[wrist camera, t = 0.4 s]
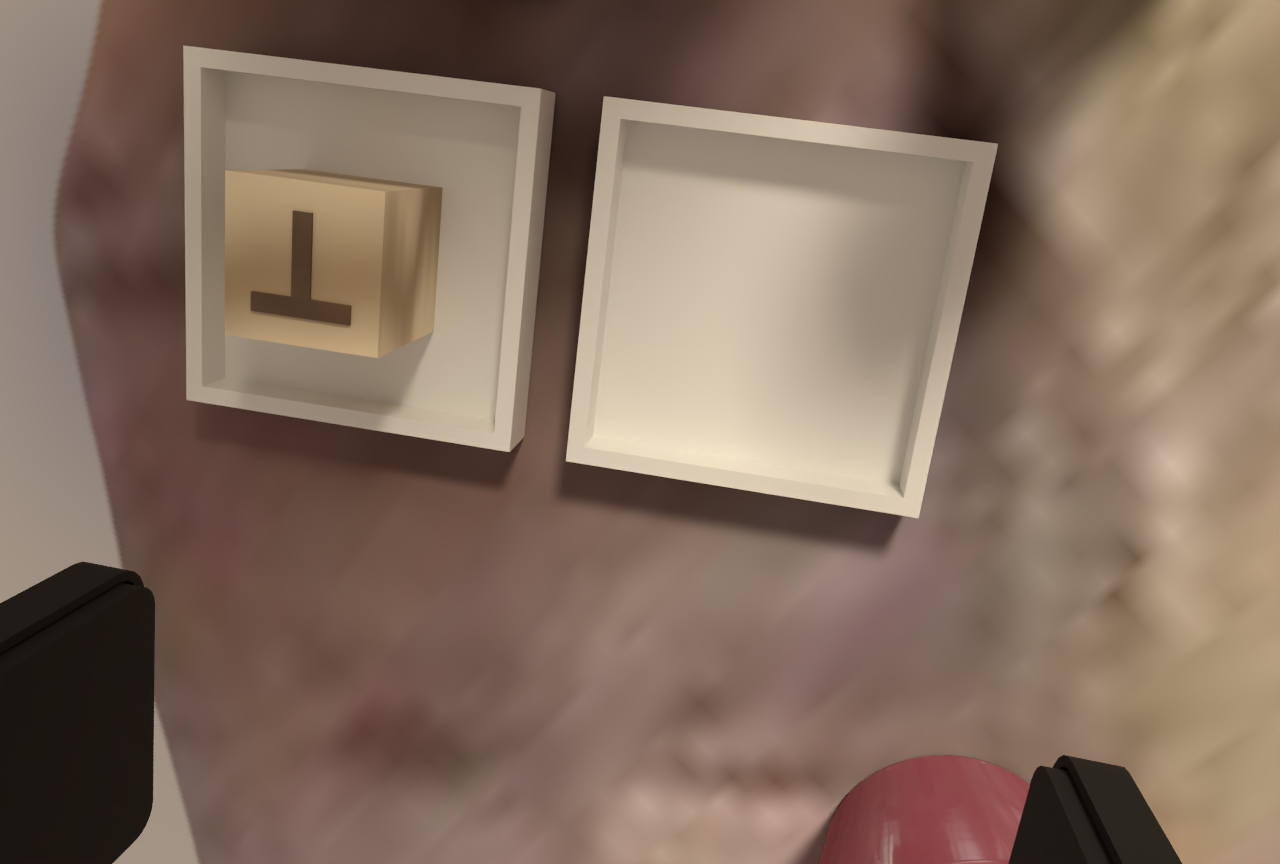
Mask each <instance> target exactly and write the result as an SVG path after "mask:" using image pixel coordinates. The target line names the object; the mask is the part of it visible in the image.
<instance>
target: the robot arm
mask: <svg viewBox="0 0 1280 864" xmlns="http://www.w3.org/2000/svg"><path fill="white" fill-rule="evenodd" d="M154 640H155V601H154V596H153V594H152V591H150V590H149V589H148V588H145V587H144V585H143V582H142V580H141V577H140V576H139V575H138V574H137V573H135V572H133V571H128V570H123V569H118V568H113V567H107V566H103V565H98V564H93V563H87V562H80V563H77V564H74V565H72V566H70V567H68V568H67V569H64V570H63V571H61V572H59V573H57V574H55V575H53V576H51V577H49V578H47V579H45V580H44V581H42V582H40V583H38V584H36V585H34V586H32V587H30V588H29V589H27V590H25V591H23V592H21V593H19V594H17V595H16V596H13V597H12V598H10V599H8V600H6V601H4V602H2V603H0V864H112V863H113V862H114V861H115V860H116V859H117V858H118V857H119V856H120V855H121V854H122V853H123V852H124V851H125V850H126V849H127V848H128V847H129V846H130V845H131V844H132V843H133V842H134V841H135V840H136V839H137V838H138V837H139V835H140V834H141V833H142V831H143V829H144V828H145V826H146V823H147V821H148V819H149V816H150V813H151V810H152V803H153V739H154V738H153V737H154ZM1008 864H1182V863H1181V861H1180V859H1179V857H1178V856H1177V854H1176V852H1175V851H1174V849H1173V847H1172V845H1171V844H1170V842H1169V840H1168V838H1167V837H1166V835H1165V833H1164V832H1163V830H1162V828H1161V826H1160V825H1159V823H1158V821H1157V820H1156V818H1155V816H1154V814H1153V813H1152V811H1151V809H1150V808H1149V806H1148V804H1147V802H1146V801H1145V799H1144V797H1143V796H1142V794H1141V792H1140V790H1139V789H1138V787H1137V785H1136V784H1135V782H1134V780H1133V778H1132V777H1131V775H1130V773H1129V772H1128V771H1127V770H1126V769H1125V768H1124V767H1121V766H1116V765H1111V764H1106V763H1101V762H1096V761H1091V760H1086V759H1081V758H1076V757H1071V756H1065V755H1063V756H1061V757H1059V758H1058V760H1057V761H1056V763H1055V764H1054V766H1053V768H1050V767H1045V766H1039V767H1038V768H1037V769H1036V771H1035V772H1034V774H1033V777H1032V780H1031V783H1030V787H1029V791H1028V794H1027V798H1026V802H1025V805H1024V809H1023V812H1022V816H1021V820H1020V823H1019V827H1018V830H1017V834H1016V838H1015V841H1014V845H1013V849H1012V852H1011V856H1010V859H1009V863H1008Z"/></svg>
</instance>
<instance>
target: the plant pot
mask: <svg viewBox="0 0 1280 864" xmlns="http://www.w3.org/2000/svg"><path fill="white" fill-rule="evenodd" d="M1029 787H1030V785H1029V784H1028V783H1027V782H1025V781H1024V780H1022V779H1021V778H1020V777H1018V776H1017V775H1015V774H1013V773H1012V772H1010V771H1007V770H1005V769H1003V768H1001V767H999V766H997V765H994V764H991V763H989V762H985V761H982V760H978V759H975V758H969V757H964V756H952V755H932V756H924V757H916V758H912V759H908V760H905V761H901V762H898V763H895V764H892V765H890V766H888V767H886V768H883V769H881V770H879V771H878V772H876V773H874V774H872V775H871V776H869V777H867V778H866V779H865V780H863V781H862V782H861V783H860V784H859V785H857V786H856V787H855V788H854V789H853V790H852V791H851V792H850V793H849V794H848V795H847V796H846V798H845V799H844V800H843V802H842V803H841V805H840V806H839V808H838V810H837V811H836V813H835V815H834V817H833V819H832V821H831V824H830V826H829V829H828V832H827V836H826V840H825V843H824V846H823V849H822V852H821V855H820V859H819V862H818V864H1008V863H1009V859H1010V856H1011V852H1012V849H1013V845H1014V841H1015V838H1016V834H1017V830H1018V827H1019V823H1020V820H1021V816H1022V812H1023V809H1024V805H1025V802H1026V798H1027V794H1028V791H1029Z"/></svg>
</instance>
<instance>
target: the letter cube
mask: <svg viewBox="0 0 1280 864" xmlns="http://www.w3.org/2000/svg"><path fill="white" fill-rule="evenodd" d="M442 190H443V188H442V187H435V186H427V185H420V184H412V183H405V182H397V181H390V180H382V179H375V178H367V177H360V176H352V175H344V174H337V173H329V172H322V171H314V170H307V169H275V170H225V335H230V336H237V337H243V338H250V339H256V340H263V341H269V342H276V343H282V344H289V345H295V346H302V347H308V348H315V349H321V350H328V351H334V352H341V353H348V354H354V355H361V356H367V357H374V358H379V357H381V356H383V355H385V354H387V353H389V352H391V351H394V350H396V349H398V348H400V347H402V346H404V345H406V344H408V343H410V342H413V341H415V340H417V339H419V338H421V337H423V336H425V335H427V334H429V333H432V332H434V319H435V303H436V287H437V271H438V255H439V239H440V223H441V206H442Z"/></svg>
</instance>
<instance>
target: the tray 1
mask: <svg viewBox="0 0 1280 864" xmlns="http://www.w3.org/2000/svg"><path fill="white" fill-rule="evenodd" d="M183 62H184V174H185V287H186V399H187V400H190V401H196V402H202V403H209V404H215V405H221V406H227V407H233V408H240V409H246V410H252V411H258V412H264V413H271V414H277V415H283V416H289V417H295V418H301V419H308V420H314V421H320V422H326V423H332V424H339V425H345V426H351V427H357V428H363V429H370V430H376V431H382V432H388V433H394V434H401V435H407V436H413V437H419V438H425V439H431V440H438V441H444V442H450V443H456V444H462V445H469V446H475V447H481V448H487V449H493V450H500V451H506V452H510V451H511V450H512V449H513V448H514V447H515V446H516V445H517V444H518V443H519V442H520V441H521V440H522V439H523V438H524V435H525V424H526V413H527V402H528V391H529V380H530V369H531V359H532V348H533V337H534V326H535V315H536V304H537V293H538V282H539V271H540V260H541V249H542V238H543V227H544V216H545V205H546V194H547V183H548V172H549V161H550V150H551V139H552V128H553V117H554V106H555V95H556V93H554V92H551V91H547V90H544V89H540V88H532V87H523V86H515V85H507V84H499V83H490V82H482V81H474V80H465V79H457V78H449V77H440V76H432V75H424V74H416V73H407V72H399V71H391V70H382V69H374V68H366V67H357V66H349V65H341V64H333V63H324V62H316V61H308V60H299V59H291V58H283V57H274V56H266V55H258V54H250V53H241V52H233V51H225V50H216V49H208V48H200V47H191V46H183ZM275 169H307V170H314V171H322V172H329V173H337V174H344V175H352V176H360V177H367V178H375V179H382V180H390V181H397V182H405V183H412V184H420V185H427V186H435V187H442V188H443V190H442V206H441V223H440V239H439V255H438V271H437V287H436V303H435V319H434V332H432V333H429V334H427V335H425V336H423V337H421V338H419V339H417V340H415V341H413V342H410V343H408V344H406V345H404V346H402V347H400V348H398V349H396V350H394V351H391V352H389V353H387V354H385V355H383V356H381V357H379V358H374V357H367V356H361V355H354V354H348V353H341V352H334V351H328V350H321V349H315V348H308V347H302V346H295V345H289V344H282V343H276V342H269V341H263V340H256V339H250V338H243V337H237V336H230V335H225V170H275Z"/></svg>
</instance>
